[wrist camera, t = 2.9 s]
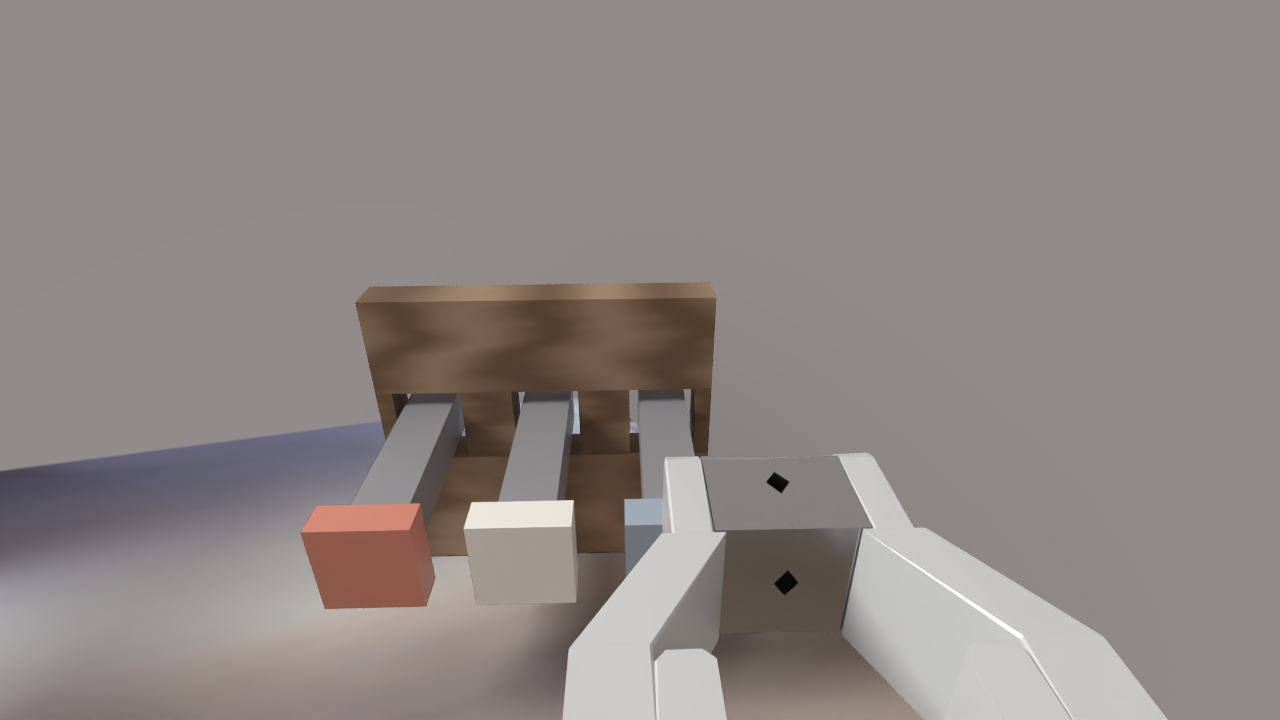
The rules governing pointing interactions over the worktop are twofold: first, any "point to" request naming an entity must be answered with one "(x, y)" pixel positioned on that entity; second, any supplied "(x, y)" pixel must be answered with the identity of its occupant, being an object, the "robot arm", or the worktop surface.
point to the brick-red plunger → (388, 514)
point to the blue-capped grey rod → (654, 466)
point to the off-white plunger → (529, 514)
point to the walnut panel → (541, 381)
